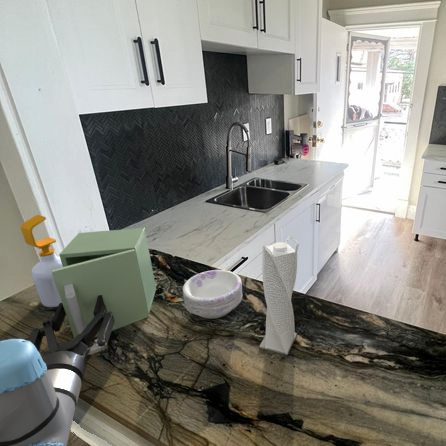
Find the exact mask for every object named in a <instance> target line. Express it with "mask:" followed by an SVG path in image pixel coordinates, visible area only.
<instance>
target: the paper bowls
mask: <svg viewBox="0 0 446 446" xmlns="http://www.w3.org/2000/svg"><path fill="white" fill-rule="evenodd" d="M182 295H183V296H182V297H183V303H184V307H185V309H186V311H188V312H189V313H191V314H192V315H196V316H199V317H201V318H204V319H210V320H211V319H212V320H213V319H219V318H222V317H224V316H226V315H228V314H230V313H231V311H232V310H234V309H235V308H237V307H238V306H239V305H240V303H241V302H242V301H243V283H242V279H241V277H240V276H239V274H237V273H235V272H233V271H230V270H226V269H212V270H207V271H206V270H205V271H203V272H200V273H197V274H194V275H193V276H191V277H190V278H189V279H188V280H186V282H185V283H184V284H183V286H182Z"/></svg>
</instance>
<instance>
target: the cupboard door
mask: <svg viewBox="0 0 446 446" xmlns="http://www.w3.org/2000/svg"><path fill="white" fill-rule="evenodd" d="M52 274H53V277H54V280H55V283H56V286H57V289H58V292H59V295H60V298H61V301H62V304H63V307H64V310H65V313H66V316H65V317H66V318H67V321H68V325H69V328H70V330H71V333H72V336H73V339H74V338H75V337H76V336H77V335H78V334H81V333H82V331H83V330H84V329H85V328H86V327H87V325H88V324H89V323H90V322H91V320H92V319H93V318H94V314H93V312H94V308H95V305H96V301H97V298H98V296H99V295H102V297H103V301H104V305H106V308H107V313H108V312H112V313H113V317H114V320H115V323H114V325H113V328H112V331H111V332H113V331H115V330H118V329H121V328H123V327H127V326H128V325H129V326H130V325H131V324H135V323H136V322H139V321H142V320H144V319H146V318H149V317H150V316H149V315H150V314H148V310H147V305H146V301H145V296H144V291H143V286H142V282H141V277H140V272H139V267H138V263H137V258H136V253H135V250H134V249H132V250H128V251H124V252H120V253H117V254H113V255H109V256H105V257H101V258H97V259H93V260H89V261H85V262H81V263H77V264H74V265H70V266H66V267H62V268H58V269H54V270H52ZM98 333H99V332H98ZM98 333H97V334H96V336H95V337H94V338H97V335H98Z"/></svg>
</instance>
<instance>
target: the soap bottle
mask: <svg viewBox="0 0 446 446" xmlns="http://www.w3.org/2000/svg"><path fill="white" fill-rule="evenodd" d="M46 220H47V217H46V216H45V215H44V216H43V215H40V214H36V215H33V216H32V217H31V218H29V219H28V220H26V221H24V222H23V223H22V224H21V225H20V231H21V234H22V236H23V239H24V242H25V243H26V244H27V245H28V246H32V247H34V248H37V249H40V250H41V251H39V253H38V255H39V258H40V261H38V262H37V263H35V265H34V266H33V267H32V268H31V274H30V276H31V279H32V281H33V284H34V287H35V289H36V293H37V295H38V297H39V300H40V303H41V304H42V305H43V306H44V307H46V308H58V305H59V303H62V301H61V298H60V295H59V292H58V289H57V286H56V283H55V280H54V277H53V274H52V270H54V269H58V268H62V267H63V266H62V262H61V259H60V256H57V254H56V251H55V249H54V248H50V247H51V246H52V244H55V243H56V242H57V239H56V238H53V237H44V238H42V239H39V240H36V239H35V237H34V234H33V229H34V228H35V227H37V226H38V225H40V224H42V223H43V222H44V221H46Z"/></svg>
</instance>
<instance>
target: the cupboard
mask: <svg viewBox="0 0 446 446" xmlns="http://www.w3.org/2000/svg"><path fill="white" fill-rule="evenodd" d="M132 249H134V250H135V253H136V258H137V263H138V267H139V272H140V277H141V282H142V286H143V291H144V296H145V301H146V305H147V310H148V315H150V312H151V310H152V309H151V308H152V305H153V301H154V297H155V294H156V292H157V291H156V290H157V286H156V280H155V276H154V270H153V264H152V260H151V255H150V250H149V244H148V238H147V233H146V228H145V227H139V228H138V227H137V228H136V227H135V228H125V229H123V228H122V229H114V230H113V229H112V230H111V229H110V230H100V231H99V230H98V231H86V232H78V233H77V234H76V235H75V236H74V237H73V238H72V240H70V242H69V243H68V244H67V245H66V246H65V247H64V249H62V251H61V252H59V254H58V257H60V259H61V262H62V266H63V267H66V266H70V265H74V264H77V263H81V262H85V261H89V260H93V259H97V258H101V257H105V256H109V255H113V254H117V253H120V252H124V251H128V250H132Z"/></svg>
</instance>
